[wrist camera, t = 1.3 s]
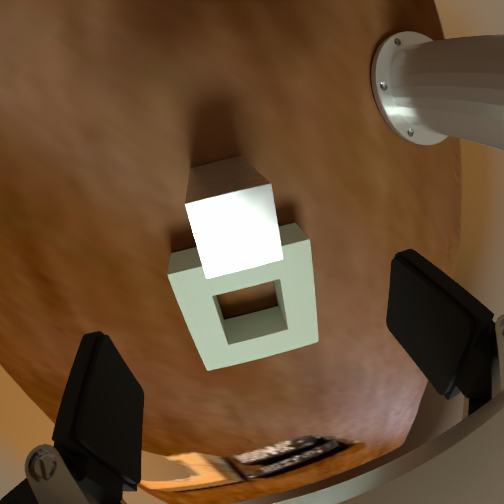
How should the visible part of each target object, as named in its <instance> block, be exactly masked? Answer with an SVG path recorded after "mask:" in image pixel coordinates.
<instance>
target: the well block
mask: <svg viewBox="0 0 504 504" xmlns="http://www.w3.org/2000/svg"><path fill="white" fill-rule="evenodd" d="M278 228H279V234H280V240H281V246H282V253H283V260H279V261H275V262H271V263H267V264H263V265H259V266H255V267H251V268H247V269H243V270H239V271H235V272H231V273H227V274H223V275H219V276H215V277H211V278H207V277H206V274H205V271H204V268H203V264H202V261H201V258H200V254H199V251H198V248H197V247H194V248H190V249H186V250H182V251H178V252H175V253H171V255H170V261H169V268H168V274H167V275H168V278H169V280H170V283H171V286H172V288H173V291H174V293H175V296H176V299H177V301H178V304H179V306H180V309H181V311H182V314H183V316H184V319H185V321H186V323H187V326H188V328H189V331H190V333H191V335H192V338H193V340H194V342H195V345H196V347H197V349H198V351H199V354H200V356H201V358H202V360H203V363H204V365H205V367H206V369H207V371H208V370H213V369H218V368H222V367H227V366H231V365H235V364H239V363H244V362H248V361H252V360H256V359H260V358H263V357H267V356H271V355H275V354H278V353H282V352H285V351H289V350H292V349H296V348H299V347H303V346H306V345H309V344H312V343H316V342H318V327H317V313H316V300H315V288H314V277H313V266H312V256H311V247H310V239H309V238H308V237H307V236H306V234H305V233H304V232H303V231H302V230H301V229H300V227H299V226H298V225H297V224H296V223H292V224H287V225H283V226H279V227H278ZM273 280H274V285H275V290H276V296H277V302H278V306H276V307H272V308H269V309H265V310H261V311H257V312H253V313H250V314H246V315H242V316H238V317H234V318H230V319H225V320H224V318H223V315H222V312H221V308H220V305H219V302H218V299H217V296H216V295H218V294H222V293H226V292H230V291H234V290H238V289H242V288H246V287H250V286H254V285H258V284H262V283H266V282H269V281H273Z"/></svg>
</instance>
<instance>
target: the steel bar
mask: <svg viewBox="0 0 504 504" xmlns="http://www.w3.org/2000/svg"><path fill="white" fill-rule="evenodd" d="M185 206H186V209H187V213H188V216H189V220H190V224H191V227H192V231H193V234H194V237H195V241H196V244H197V248H198V251H199V254H200V258H201V261H202V264H203V268H204V271H205V274H206V277H207V278H211V277H215V276H219V275H223V274H227V273H231V272H235V271H239V270H243V269H247V268H251V267H255V266H259V265H263V264H267V263H271V262H275V261H279V260H283V253H282V246H281V240H280V234H279V228H278V222H277V216H276V210H275V204H274V198H273V192H272V186H271V183H270V182H269V181H268V180H267V179H266V178H264V177H263V176H262V175H261V174H260V173H259V172H258V171H257V170H256V169H255V168H254V167H253V166H251V165H250V164H249V163H248V162H247V161H246V160H245V159H244V158H243V157H241V156H239V157H234V158H230V159H225V160H221V161H217V162H213V163H208V164H204V165H200V166H196V167H192V168H190V173H189V180H188V187H187V194H186V201H185Z"/></svg>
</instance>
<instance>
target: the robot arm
mask: <svg viewBox="0 0 504 504" xmlns="http://www.w3.org/2000/svg"><path fill="white" fill-rule="evenodd" d="M371 81H372V89H373V93H374V97H375V101H376V103H377V106H378V108H379V110H380V113H381V114H382V116H383V118H384V119H385V121H386V122H387V124H388V125H389V126H390V127H391V128H392V130H393V131H394V132H396V133H397V134H398V135H399V136H400V137H402V138H404V139H405V140H407V141H409V142H412V143H416V144H420V145H434V144H437V143H439V142H441V141H443V140H444V139H446V138H447V137H448V136H451V137H456V138H460V139H465V140H469V141H473V142H476V143H480V144H484V145H487V146H491V147H494V148H498V149H501V150H504V35H487V36H486V35H485V36H472V37H460V38H451V39H444V40H436V41H433V40H432V39H431V38H429V37H427V36H425V35H423V34H421V33H417V32H412V31H404V32H400V33H396V34H393V35H391V36H389V37H388V38H386V39H385V40H384V41H383V42H382V43H381V44H380V45H379V47H378V48H377V51H376V53H375V55H374V58H373V63H372V69H371ZM493 316H494V314H493V313H492V312H491V311H490V310H489V309H488V308H487V307H485V306H484V305H483V304H482V303H481V302H479V301H478V300H477V299H476V298H475V297H474V296H472V295H471V294H470V293H469V292H467V291H466V290H465V289H464V288H463V287H461V286H460V285H459V284H458V283H456V282H455V281H454V280H453V279H451V278H450V277H449V276H448V275H446V274H445V273H444V272H443V271H441V270H440V269H439V268H437V267H436V266H435V265H433V264H432V263H431V262H429V261H428V260H427V259H425V258H424V257H423V256H421V255H420V254H419V253H417V252H416V251H415V250H413V249H408V250H405V251H402V252H399V253H397V254H396V255H395V257H394V259H393V260H392V262H391V274H390V288H389V299H388V309H387V318H386V323H387V327H388V329H389V331H390V332H391V333H392V334H393V336H394V337H395V338H396V339H397V341H398V342H399V343H400V344H401V345H402V347H403V348H404V349H405V351H406V352H407V353H408V354H409V356H410V357H411V358H412V359H413V361H414V362H415V363H416V365H417V366H418V367H419V368H420V370H421V371H422V372H423V374H424V375H425V376H426V377H427V379H428V380H429V381H430V383H431V384H432V385H433V387H434V388H435V389H436V391H437V392H438V393H439V394H440V395H443V394H444V396H445V397H446V398H447V400H450V399H451V398H453V397H454V396H456V395H457V394H459V393H460V391H461V392H462V394H463V395H464V407H463V417H462V421H461V422H459V423H458V424H456V425H455V426H453V427H452V428H450V429H449V430H447V431H446V432H444V433H442V434H441V435H439V436H438V437H436V438H434V439H433V440H431V441H429V442H428V443H426V444H424V445H423V446H420V447H419V448H417V449H415V450H413V451H411V452H409V453H408V454H406V455H404V456H402V457H400V458H398V459H396V460H394V461H392V462H390V463H388V464H385V465H383V466H381V467H379V468H377V469H375V470H372V471H370V472H368V473H365V474H363V475H361V476H358V477H356V478H353V479H351V480H348V481H345V482H343V483H340V484H337V485H335V486H332V487H329V488H326V489H323V490H320V491H317V492H314V493H310V494H307V495H304V496H300V497H297V498H293V499H289V500H285V501H281V502H277V503H273V504H504V315H501V316H500V317H499V318H498V319H497V321H496V323H494V322H493V321H492V319H493ZM143 408H144V392H143V389H142V387H141V386H140V384H139V383H138V381H137V380H136V378H135V377H134V375H133V374H132V372H131V371H130V369H129V368H128V366H127V365H126V363H125V362H124V360H123V359H122V357H121V355H120V354H119V352H118V351H117V349H116V347H115V346H114V344H113V342H112V341H111V339H110V337H109V336H108V335H104V334H103V333H102V332H100V331H98V332H93V333H88V334H85V335H84V336H83V338H82V340H81V343H80V346H79V348H78V351H77V354H76V357H75V360H74V363H73V366H72V369H71V372H70V375H69V378H68V381H67V384H66V388H65V391H64V394H63V398H62V401H61V405H60V408H59V412H58V416H57V419H56V423H55V427H54V432H53V436H52V440H53V441H54V446H51V445H47V444H44V445H39V446H37V447H36V448H34V449H33V450H32V451H31V452H30V453H29V455H28V456H27V458H26V462H25V473H26V477H27V478H26V479H24V480H23V481H22V482H21V483H20V484H19V485H17V486H16V487H15V488H14V489H13V490H11V491H10V492H9V493H8V494H7V495H5V496H4V497H3V498H2V499H1V500H0V504H127V503H126V502H125V501H124V500H123V499H122V493H123V491H137V484H138V483H140V481H141V448H142V425H143Z"/></svg>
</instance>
